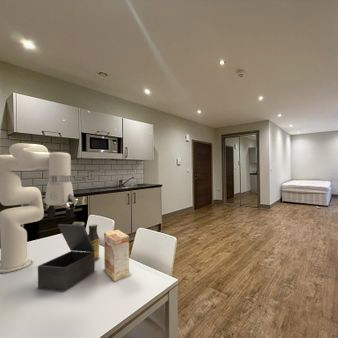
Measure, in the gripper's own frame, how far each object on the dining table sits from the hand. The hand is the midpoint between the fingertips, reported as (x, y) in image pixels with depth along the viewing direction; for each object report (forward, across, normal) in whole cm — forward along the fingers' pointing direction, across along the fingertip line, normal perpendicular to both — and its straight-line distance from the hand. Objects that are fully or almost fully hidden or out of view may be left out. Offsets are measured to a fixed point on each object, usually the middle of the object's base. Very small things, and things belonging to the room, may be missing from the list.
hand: (60, 217), depth 87 cm
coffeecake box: (+31, +18, +12) cm, 38 cm away
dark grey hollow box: (+30, 0, +4) cm, 31 cm away
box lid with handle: (+13, 0, +8) cm, 15 cm away
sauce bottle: (+31, -5, +22) cm, 38 cm away
